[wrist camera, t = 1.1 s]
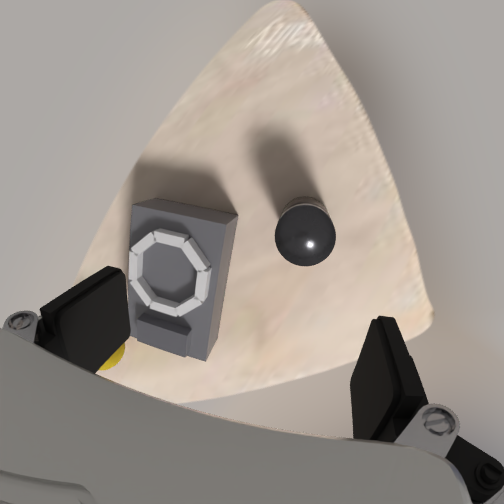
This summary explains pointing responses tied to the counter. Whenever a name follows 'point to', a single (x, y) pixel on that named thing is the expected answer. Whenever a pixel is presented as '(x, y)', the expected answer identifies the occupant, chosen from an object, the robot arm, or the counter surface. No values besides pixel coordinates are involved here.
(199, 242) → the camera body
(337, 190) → the counter surface
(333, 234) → the lens
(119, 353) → the lemon
